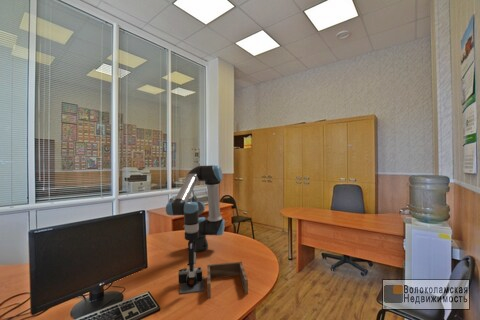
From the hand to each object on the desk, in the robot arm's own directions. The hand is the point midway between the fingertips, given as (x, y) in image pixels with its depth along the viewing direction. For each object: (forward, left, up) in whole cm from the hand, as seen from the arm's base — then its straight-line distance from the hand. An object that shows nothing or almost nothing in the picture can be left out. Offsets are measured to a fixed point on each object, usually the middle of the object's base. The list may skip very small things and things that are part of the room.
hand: (192, 270), depth 117 cm
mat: (0, 0, -8) cm, 8 cm away
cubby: (+3, +18, -8) cm, 20 cm away
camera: (0, -1, -7) cm, 8 cm away
